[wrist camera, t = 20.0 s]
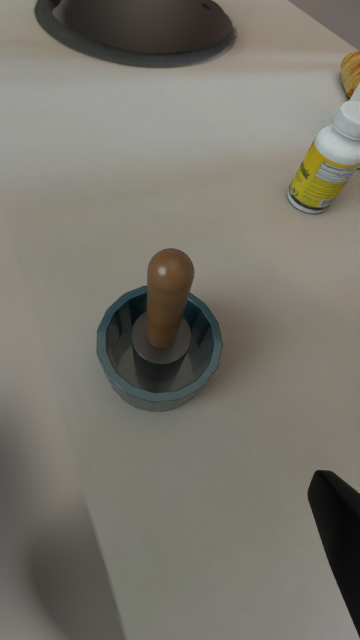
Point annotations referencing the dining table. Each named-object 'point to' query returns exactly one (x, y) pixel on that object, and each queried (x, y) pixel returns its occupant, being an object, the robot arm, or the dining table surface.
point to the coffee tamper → (164, 317)
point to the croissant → (350, 72)
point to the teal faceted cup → (120, 361)
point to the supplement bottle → (328, 162)
